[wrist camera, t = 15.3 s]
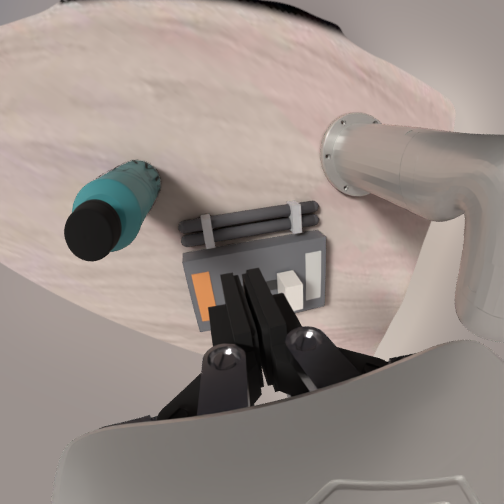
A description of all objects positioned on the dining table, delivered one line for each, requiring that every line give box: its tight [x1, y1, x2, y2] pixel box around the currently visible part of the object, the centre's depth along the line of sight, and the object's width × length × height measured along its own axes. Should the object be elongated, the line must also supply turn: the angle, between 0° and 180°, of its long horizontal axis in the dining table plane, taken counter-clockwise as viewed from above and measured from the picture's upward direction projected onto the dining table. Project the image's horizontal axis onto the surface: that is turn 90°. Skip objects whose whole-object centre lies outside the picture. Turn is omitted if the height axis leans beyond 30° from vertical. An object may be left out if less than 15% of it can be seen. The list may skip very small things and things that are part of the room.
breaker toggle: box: [277, 270, 303, 311], centre depth 39 cm, size 2×4×4 cm, turn 6°
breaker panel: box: [182, 230, 326, 332], centre depth 42 cm, size 20×12×3 cm, turn 96°
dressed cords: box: [178, 200, 319, 249], centre depth 39 cm, size 20×4×2 cm, turn 96°
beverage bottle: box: [64, 159, 161, 261], centre depth 26 cm, size 6×7×20 cm
